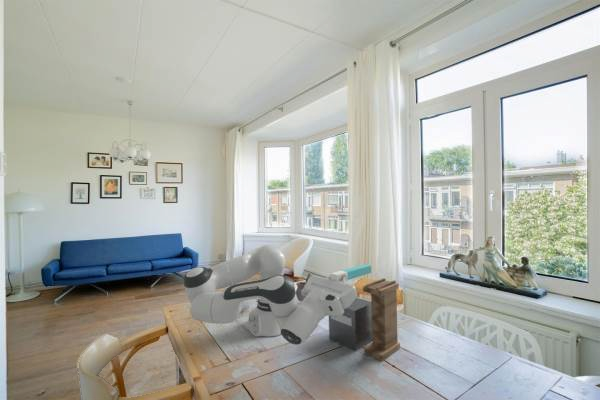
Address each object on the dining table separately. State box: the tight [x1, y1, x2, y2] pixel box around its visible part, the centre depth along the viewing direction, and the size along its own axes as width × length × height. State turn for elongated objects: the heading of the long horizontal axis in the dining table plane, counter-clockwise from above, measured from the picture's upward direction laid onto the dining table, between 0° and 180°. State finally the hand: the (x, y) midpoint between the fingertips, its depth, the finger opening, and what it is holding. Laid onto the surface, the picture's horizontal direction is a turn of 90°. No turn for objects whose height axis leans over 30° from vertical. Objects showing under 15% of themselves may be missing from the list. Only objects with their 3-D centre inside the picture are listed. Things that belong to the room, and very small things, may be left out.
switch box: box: [328, 297, 372, 352], centre depth 120 cm, size 14×13×16 cm
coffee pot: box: [295, 273, 313, 301], centre depth 165 cm, size 21×12×15 cm, turn 160°
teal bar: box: [330, 263, 372, 282], centre depth 108 cm, size 3×22×3 cm, turn 134°
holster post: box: [362, 277, 401, 362], centre depth 111 cm, size 8×13×27 cm, turn 132°
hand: (341, 275), depth 104 cm, fingers closed on teal bar, 3 cm apart
